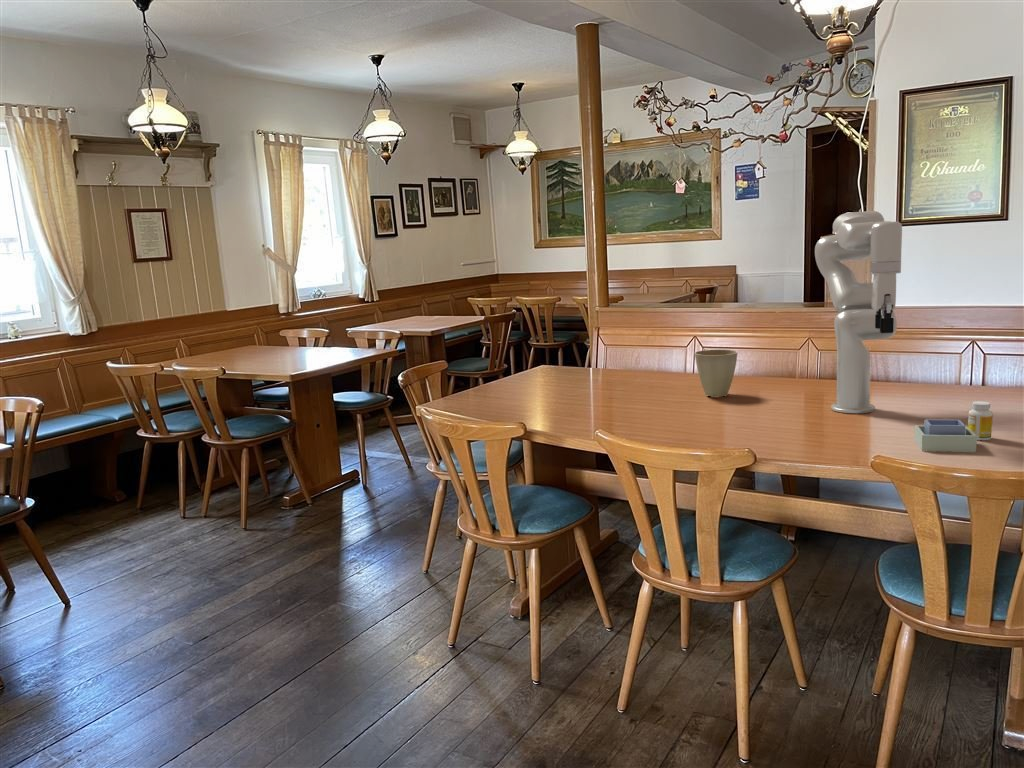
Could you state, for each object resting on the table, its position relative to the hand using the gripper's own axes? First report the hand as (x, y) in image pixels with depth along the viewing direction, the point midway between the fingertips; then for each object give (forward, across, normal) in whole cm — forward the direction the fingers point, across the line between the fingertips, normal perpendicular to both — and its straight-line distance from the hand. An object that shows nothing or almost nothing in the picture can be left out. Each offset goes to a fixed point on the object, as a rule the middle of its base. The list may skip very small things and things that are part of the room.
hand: (883, 330), depth 204 cm
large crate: (+29, +16, +12) cm, 35 cm away
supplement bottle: (+28, +8, +22) cm, 37 cm away
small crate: (+28, +16, +12) cm, 35 cm away
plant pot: (+28, -46, -48) cm, 72 cm away
